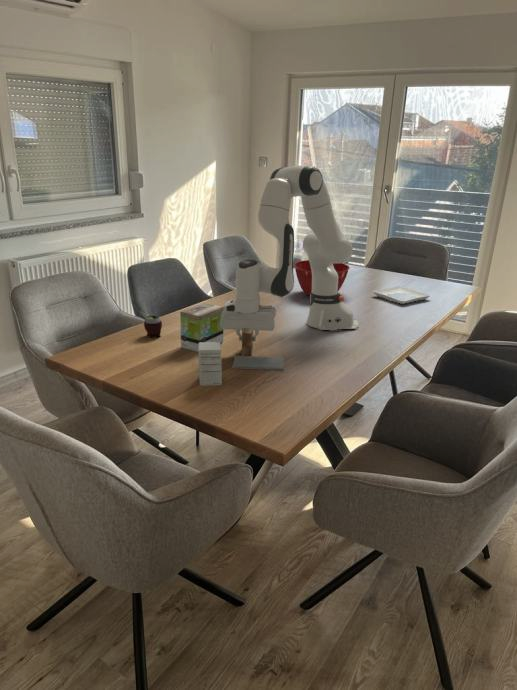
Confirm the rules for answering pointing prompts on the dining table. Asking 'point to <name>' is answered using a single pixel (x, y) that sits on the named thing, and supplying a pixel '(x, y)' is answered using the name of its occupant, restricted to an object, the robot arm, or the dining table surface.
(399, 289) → the salad plate
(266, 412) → the dining table surface
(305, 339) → the dining table surface
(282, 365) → the mat
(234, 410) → the dining table surface
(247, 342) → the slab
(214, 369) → the supplement box
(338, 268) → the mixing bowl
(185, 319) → the tea box
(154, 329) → the mate gourd
